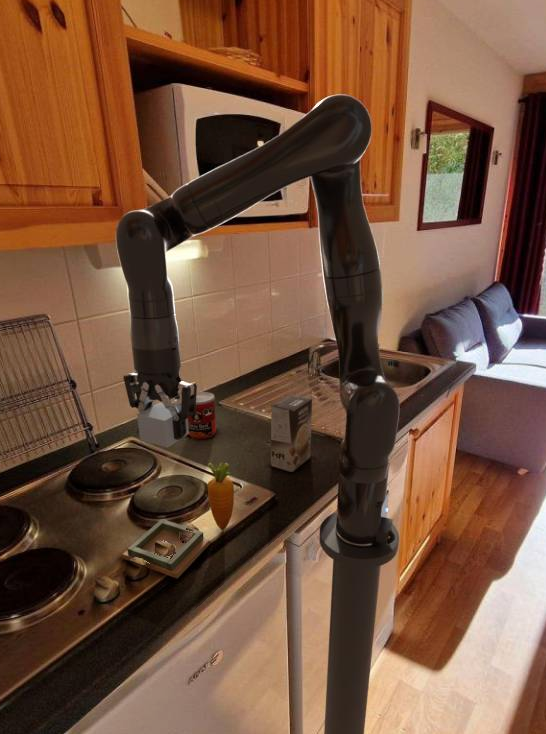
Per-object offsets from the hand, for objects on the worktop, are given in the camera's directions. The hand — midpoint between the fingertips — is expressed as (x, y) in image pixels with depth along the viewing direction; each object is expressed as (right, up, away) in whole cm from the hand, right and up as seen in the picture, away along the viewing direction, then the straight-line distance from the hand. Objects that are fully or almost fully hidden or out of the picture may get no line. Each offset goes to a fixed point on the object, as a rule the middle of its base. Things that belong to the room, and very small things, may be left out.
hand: (164, 433), depth 84 cm
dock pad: (0, -22, +4) cm, 22 cm away
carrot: (+9, -20, +10) cm, 24 cm away
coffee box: (+23, -10, +35) cm, 43 cm away
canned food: (-2, -4, +49) cm, 49 cm away
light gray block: (0, -1, 0) cm, 1 cm away
